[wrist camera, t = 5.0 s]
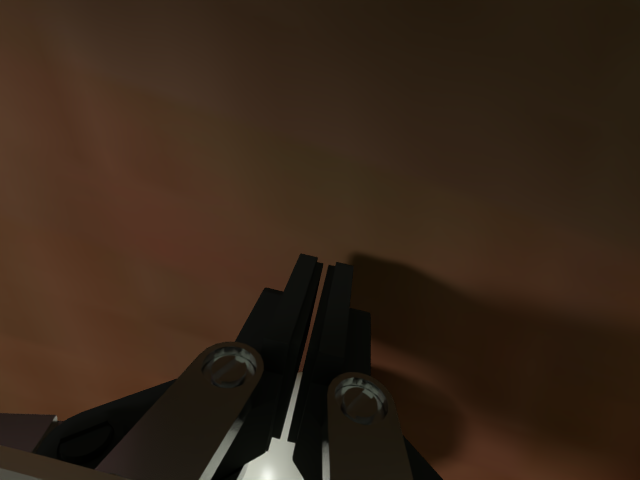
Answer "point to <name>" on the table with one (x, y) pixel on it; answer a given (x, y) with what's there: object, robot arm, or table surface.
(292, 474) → the cue ball
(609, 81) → the table surface
